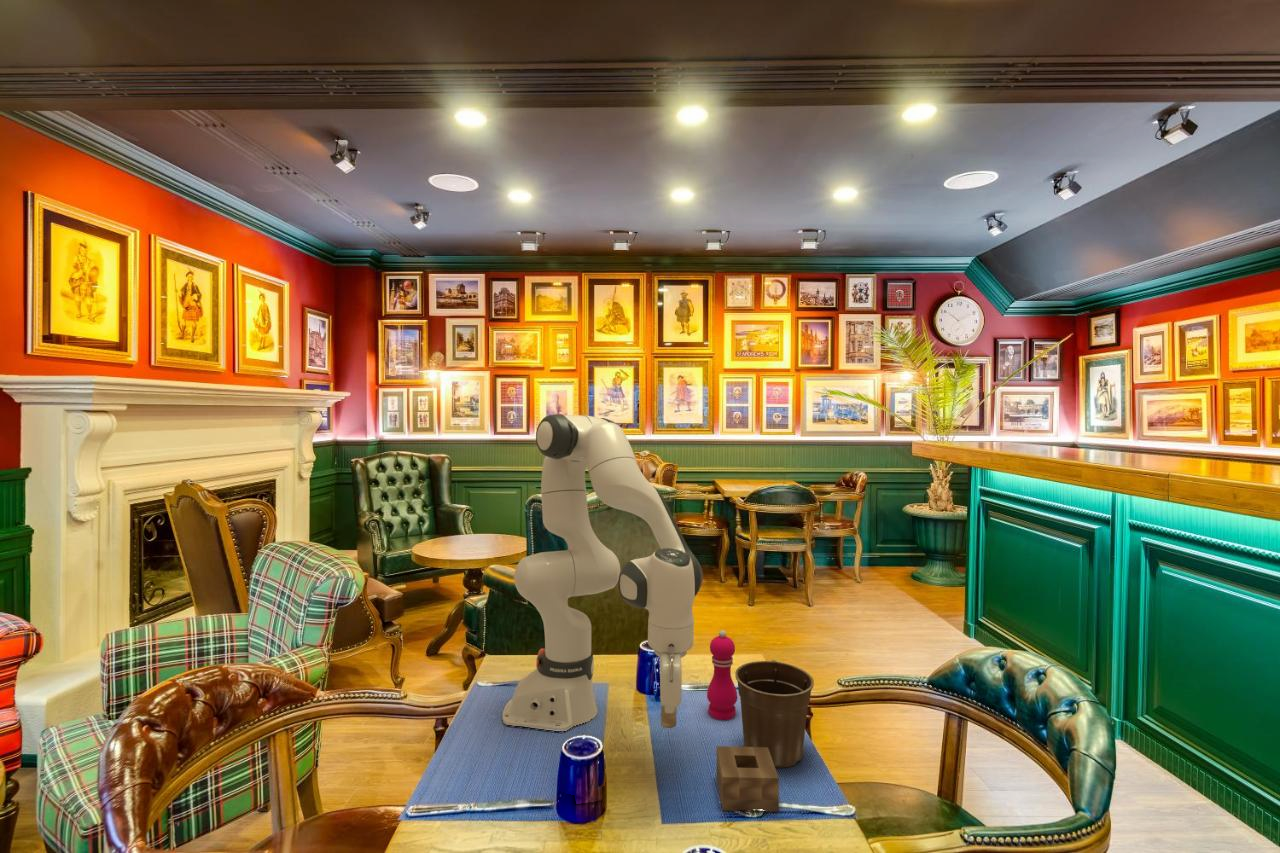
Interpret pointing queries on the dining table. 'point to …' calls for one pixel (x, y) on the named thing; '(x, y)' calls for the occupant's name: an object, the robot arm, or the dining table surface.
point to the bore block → (747, 779)
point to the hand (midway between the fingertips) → (668, 705)
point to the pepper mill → (722, 679)
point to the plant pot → (774, 708)
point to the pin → (668, 717)
